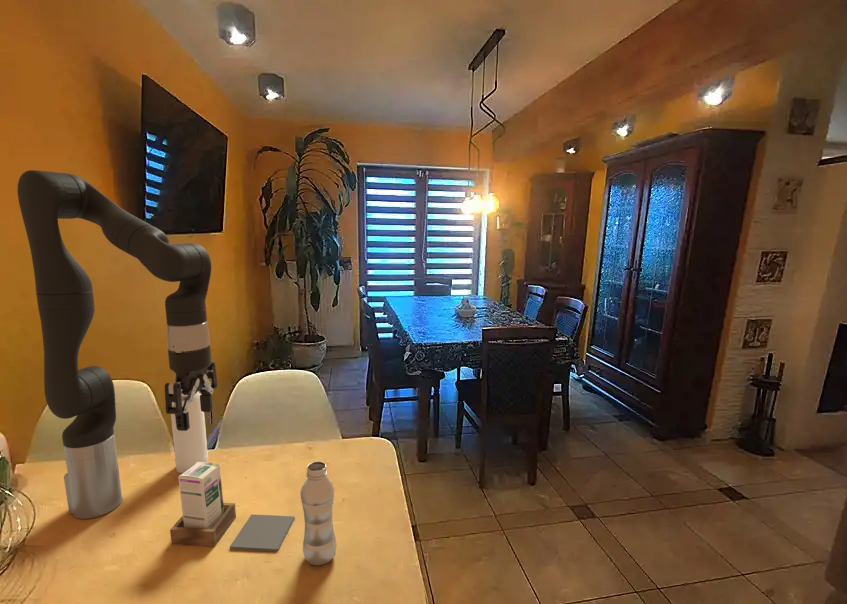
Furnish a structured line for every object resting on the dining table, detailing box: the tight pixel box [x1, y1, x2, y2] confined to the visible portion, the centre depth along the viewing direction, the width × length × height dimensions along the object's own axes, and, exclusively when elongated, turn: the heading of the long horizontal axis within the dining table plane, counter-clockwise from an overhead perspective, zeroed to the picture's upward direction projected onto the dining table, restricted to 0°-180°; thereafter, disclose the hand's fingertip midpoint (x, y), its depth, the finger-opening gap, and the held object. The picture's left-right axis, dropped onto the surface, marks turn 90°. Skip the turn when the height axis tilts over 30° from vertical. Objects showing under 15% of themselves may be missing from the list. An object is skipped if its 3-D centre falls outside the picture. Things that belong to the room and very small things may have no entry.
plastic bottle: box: [299, 460, 337, 566], centre depth 86 cm, size 6×7×20 cm
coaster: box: [229, 513, 296, 553], centre depth 94 cm, size 10×10×1 cm
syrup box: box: [178, 462, 224, 529], centre depth 93 cm, size 6×6×14 cm
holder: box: [169, 502, 237, 548], centre depth 94 cm, size 9×9×4 cm
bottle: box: [170, 392, 209, 474], centre depth 116 cm, size 8×8×30 cm
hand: (195, 420), depth 90 cm, fingers open, 8 cm apart
